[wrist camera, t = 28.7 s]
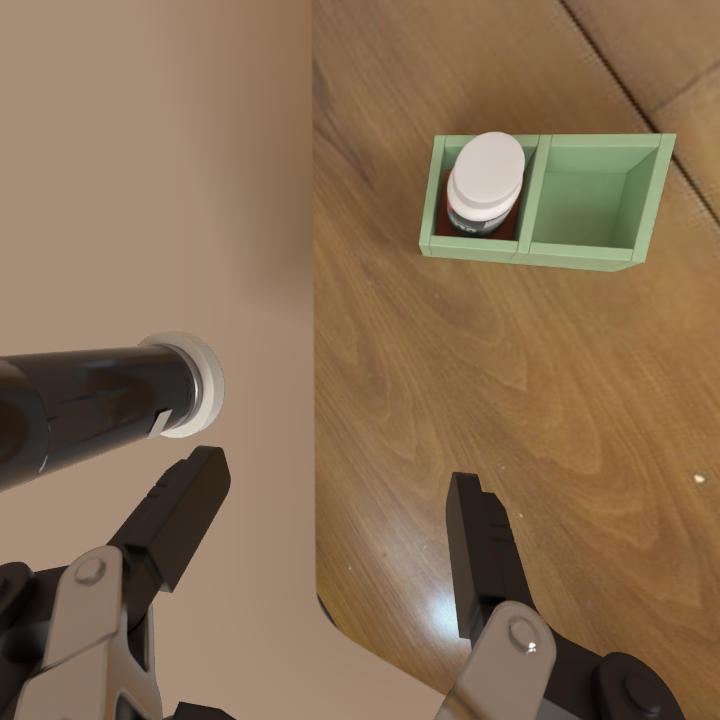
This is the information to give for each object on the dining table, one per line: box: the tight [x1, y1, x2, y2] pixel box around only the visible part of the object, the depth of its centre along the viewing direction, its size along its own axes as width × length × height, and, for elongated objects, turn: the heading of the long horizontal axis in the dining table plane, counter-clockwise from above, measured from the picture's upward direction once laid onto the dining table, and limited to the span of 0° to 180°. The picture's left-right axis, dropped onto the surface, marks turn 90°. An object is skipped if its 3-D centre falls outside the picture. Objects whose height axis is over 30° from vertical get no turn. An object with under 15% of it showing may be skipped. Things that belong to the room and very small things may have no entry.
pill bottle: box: [447, 132, 525, 239], centre depth 24 cm, size 5×5×8 cm
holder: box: [419, 133, 677, 272], centre depth 25 cm, size 15×8×4 cm, turn 82°
